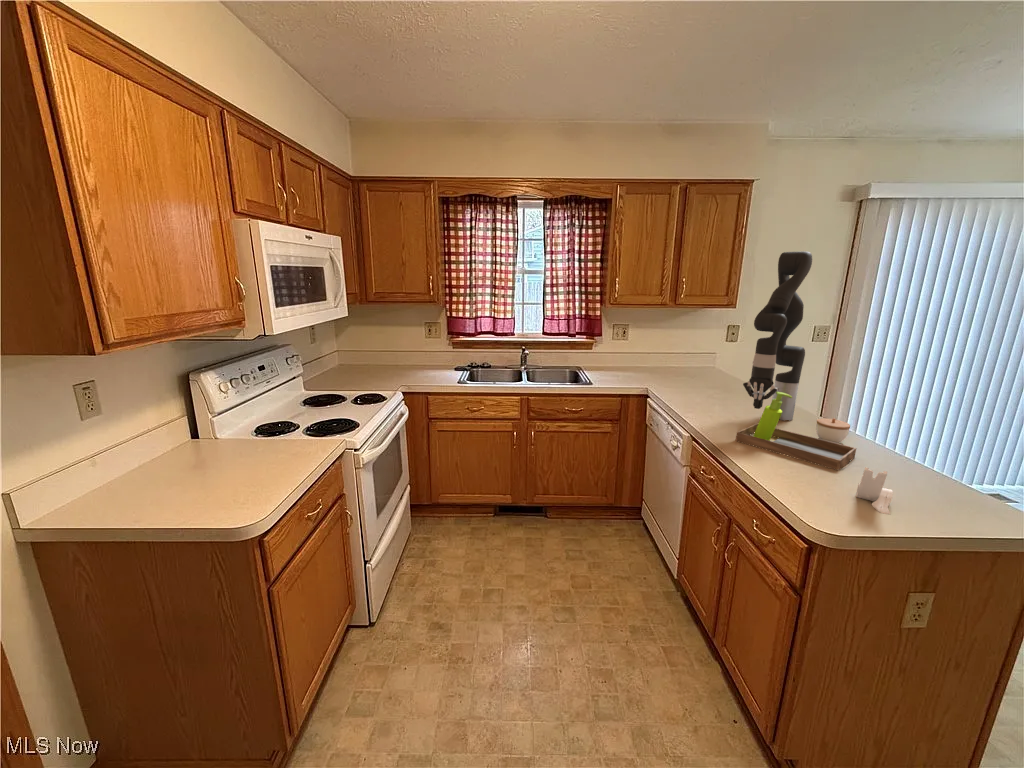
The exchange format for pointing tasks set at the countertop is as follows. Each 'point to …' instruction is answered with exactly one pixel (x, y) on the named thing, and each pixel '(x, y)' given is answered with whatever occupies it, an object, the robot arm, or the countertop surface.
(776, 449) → the wooden tray
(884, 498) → the plastic part
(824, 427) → the lidded jar
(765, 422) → the soap dispenser
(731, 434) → the countertop surface
